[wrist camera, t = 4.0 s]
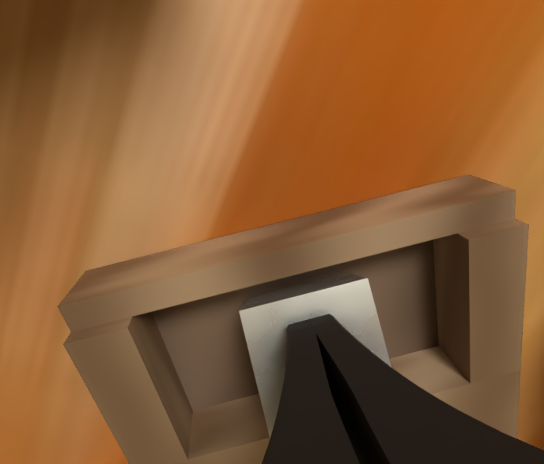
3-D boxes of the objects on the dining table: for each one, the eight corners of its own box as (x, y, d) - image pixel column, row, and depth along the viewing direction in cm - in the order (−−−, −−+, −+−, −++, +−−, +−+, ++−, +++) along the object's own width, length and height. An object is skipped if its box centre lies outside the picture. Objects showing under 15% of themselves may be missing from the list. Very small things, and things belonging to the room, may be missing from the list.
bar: (346, 272, 14) (367, 278, 11) (423, 565, 13) (469, 656, 10) (245, 298, 14) (238, 310, 11) (317, 594, 13) (332, 695, 10)
